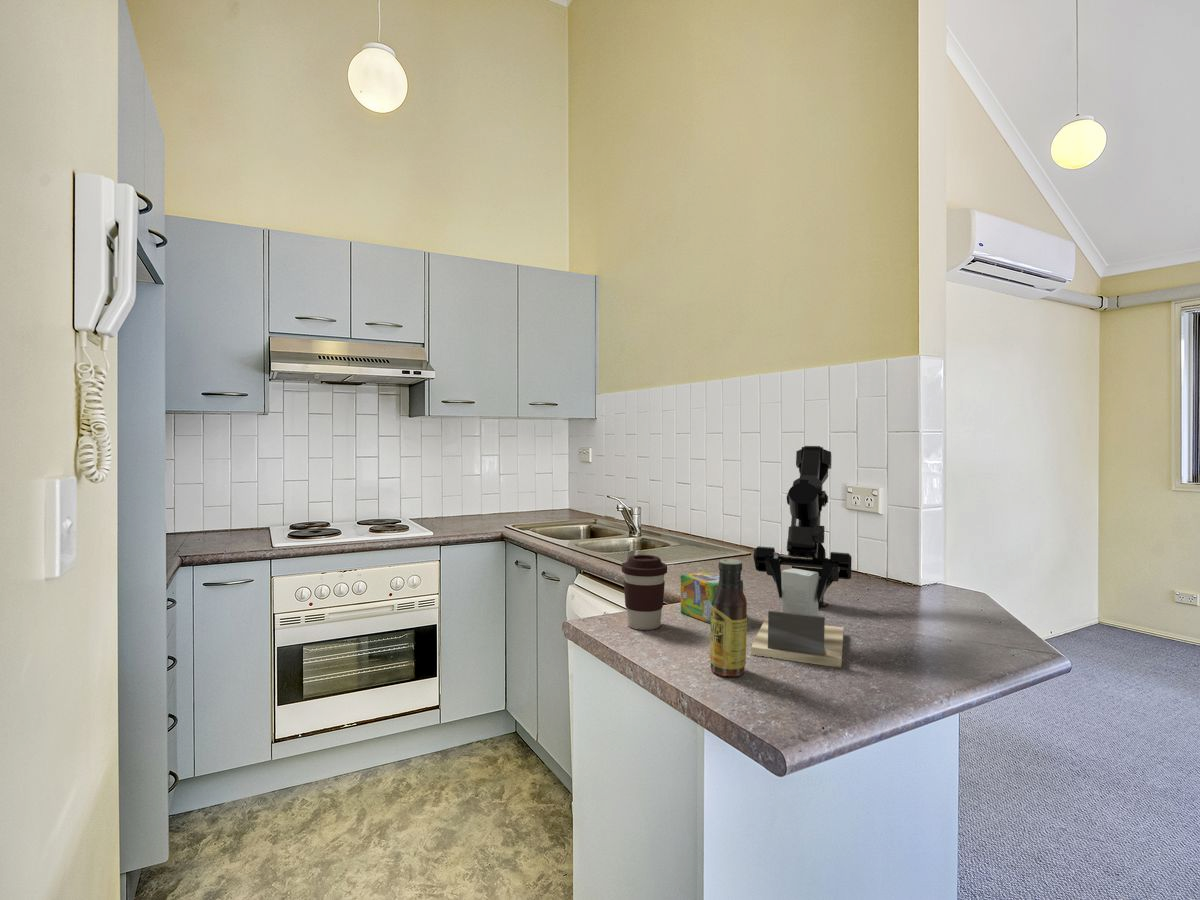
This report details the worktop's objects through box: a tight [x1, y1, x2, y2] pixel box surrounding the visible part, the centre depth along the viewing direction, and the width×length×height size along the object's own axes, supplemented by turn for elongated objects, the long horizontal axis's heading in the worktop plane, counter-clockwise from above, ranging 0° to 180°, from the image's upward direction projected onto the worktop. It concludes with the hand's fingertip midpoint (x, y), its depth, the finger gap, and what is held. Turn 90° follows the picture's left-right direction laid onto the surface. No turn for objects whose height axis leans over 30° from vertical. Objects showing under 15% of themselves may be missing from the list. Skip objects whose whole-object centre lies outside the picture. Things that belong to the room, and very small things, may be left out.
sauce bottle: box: [709, 558, 748, 678], centre depth 108 cm, size 7×6×20 cm
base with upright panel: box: [750, 610, 844, 669], centre depth 123 cm, size 20×16×8 cm
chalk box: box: [680, 570, 744, 625], centre depth 140 cm, size 9×9×15 cm
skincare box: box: [780, 567, 819, 616], centre depth 121 cm, size 6×4×12 cm
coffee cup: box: [621, 554, 668, 631], centre depth 134 cm, size 10×10×15 cm
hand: (799, 599), depth 120 cm, fingers closed on skincare box, 7 cm apart
